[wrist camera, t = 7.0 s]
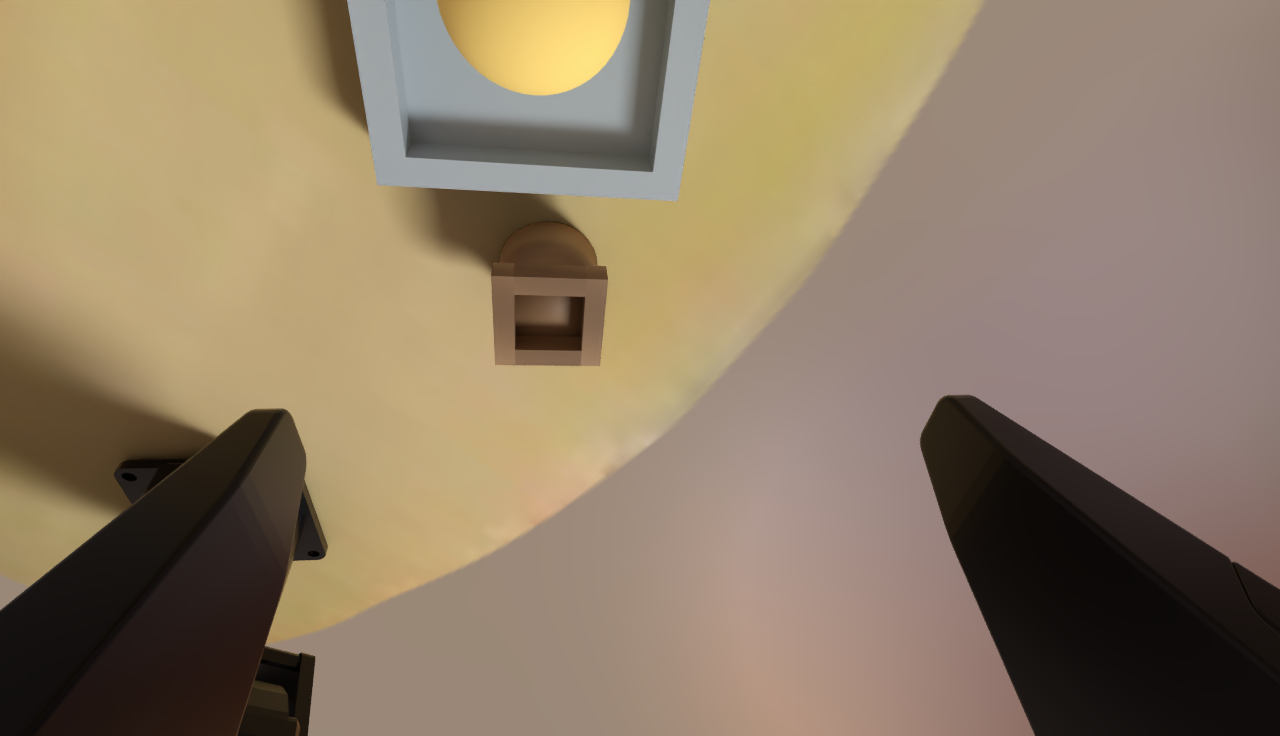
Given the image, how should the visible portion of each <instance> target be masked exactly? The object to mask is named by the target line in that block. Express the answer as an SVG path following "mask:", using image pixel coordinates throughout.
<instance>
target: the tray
mask: <svg viewBox="0 0 1280 736" xmlns="http://www.w3.org/2000/svg"><path fill="white" fill-rule="evenodd" d="M347 3H348V9H349V15H350V21H351V27H352V33H353V39H354V45H355V51H356V58H357V64H358V70H359V76H360V82H361V88H362V94H363V100H364V106H365V112H366V119H367V125H368V131H369V137H370V143H371V149H372V155H373V161H374V167H375V173H376V180H377V185H385V186H403V187H422V188H441V189H459V190H478V191H497V192H516V193H534V194H553V195H572V196H591V197H609V198H628V199H647V200H665V201H678V196H679V190H680V183H681V177H682V171H683V165H684V158H685V152H686V146H687V140H688V134H689V127H690V121H691V115H692V109H693V103H694V96H695V90H696V84H697V78H698V72H699V65H700V59H701V53H702V47H703V41H704V34H705V28H706V22H707V16H708V10H709V3H710V0H630V7H629V14H628V19H627V23H626V26H625V30H624V33H623V35H622V37H621V40H620V42H619V45H618V46H617V48H616V50H615V52H614V54H613V55H612V57H611V58H610V59H609V61H608V62H607V63H606V65H605V66H604V67H603V68H602V69H601V70H600V71H599V72H598V73H597V74H596V75H595V76H593V77H592V78H591V79H590V80H588V81H587V82H585V83H583V84H582V85H580V86H578V87H576V88H574V89H571V90H569V91H566V92H562V93H559V94H553V95H528V94H522V93H518V92H514V91H511V90H508V89H506V88H504V87H501V86H499V85H497V84H496V83H494V82H492V81H490V80H489V79H487V78H486V77H485V76H483V75H482V74H480V73H479V72H478V71H477V70H476V69H475V68H474V67H473V66H472V65H470V64H469V62H468V61H467V60H466V59H465V58H464V57H463V55H462V54H461V53H460V52H459V50H458V49H457V47H456V46H455V44H454V43H453V41H452V39H451V37H450V35H449V33H448V31H447V30H446V27H445V25H444V22H443V20H442V17H441V15H440V11H439V8H438V4H437V0H347Z"/></svg>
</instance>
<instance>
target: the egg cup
mask: <svg viewBox="0 0 1280 736" xmlns="http://www.w3.org/2000/svg"><path fill="white" fill-rule="evenodd" d="M491 282H492V304H493V325H494V347H495V365H554V366H600V359H601V349H602V338H603V327H604V316H605V306H606V295H607V284H608V277H607V269H606V266H598V264H597V257H596V254H595V251H594V248H593V246H592V245H591V243H590V242H589V240H588V239H587V238H586V237H585V236H584V235H583V234H581V233H580V232H579V231H577V230H576V229H574V228H572V227H570V226H567V225H565V224H561V223H556V222H538V223H533V224H530V225H527V226H525V227H523V228H521V229H519V230H517V231H516V232H515V233H513V234H512V235H511V236H510V237H509V238H508V240H507V241H506V242H505V244H504V246H503V248H502V251H501V254H500V259H499V262H493V265H492V273H491Z"/></svg>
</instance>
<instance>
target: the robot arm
mask: <svg viewBox="0 0 1280 736" xmlns="http://www.w3.org/2000/svg"><path fill="white" fill-rule="evenodd" d="M920 445H921V451H922V454H923V457H924V460H925V463H926V467H927V470H928V473H929V476H930V480H931V483H932V486H933V489H934V492H935V495H936V498H937V502H938V505H939V508H940V511H941V514H942V517H943V521H944V524H945V527H946V530H947V532H948V535H949V538H950V541H951V543H952V545H953V548H954V551H955V553H956V556H957V558H958V560H959V563H960V565H961V567H962V569H963V572H964V574H965V576H966V579H967V581H968V583H969V586H970V588H971V590H972V592H973V595H974V597H975V599H976V601H977V604H978V606H979V608H980V611H981V613H982V615H983V617H984V620H985V622H986V625H987V627H988V629H989V631H990V634H991V636H992V638H993V641H994V643H995V645H996V647H997V650H998V652H999V654H1000V656H1001V659H1002V661H1003V663H1004V666H1005V668H1006V670H1007V673H1008V675H1009V677H1010V679H1011V682H1012V684H1013V686H1014V689H1015V691H1016V693H1017V696H1018V698H1019V700H1020V702H1021V705H1022V707H1023V709H1024V712H1025V714H1026V716H1027V718H1028V721H1029V723H1030V725H1031V728H1032V730H1033V732H1034V735H1035V736H1280V589H1278V588H1277V587H1275V586H1274V585H1272V584H1270V583H1268V582H1267V581H1265V580H1264V579H1262V578H1261V577H1259V576H1258V575H1256V574H1255V573H1253V572H1251V571H1250V570H1248V569H1247V568H1245V567H1243V566H1242V565H1240V564H1239V563H1237V562H1231V560H1230V559H1229V557H1228V556H1226V555H1224V554H1223V553H1221V552H1220V551H1218V550H1216V549H1215V548H1213V547H1212V546H1210V545H1209V544H1207V543H1205V542H1204V541H1202V540H1201V539H1199V538H1197V537H1196V536H1194V535H1193V534H1191V533H1190V532H1188V531H1186V530H1185V529H1183V528H1182V527H1180V526H1178V525H1177V524H1175V523H1173V522H1172V521H1171V520H1169V519H1167V518H1166V517H1164V516H1163V515H1161V514H1160V513H1158V512H1156V511H1155V510H1153V509H1152V508H1150V507H1148V506H1147V505H1145V504H1144V503H1142V502H1141V501H1139V500H1137V499H1136V498H1134V497H1133V496H1131V495H1130V494H1128V493H1126V492H1125V491H1123V490H1122V489H1120V488H1118V487H1117V486H1115V485H1114V484H1112V483H1111V482H1109V481H1107V480H1106V479H1104V478H1103V477H1101V476H1099V475H1098V474H1096V473H1094V472H1093V471H1091V470H1090V469H1088V468H1087V467H1085V466H1084V465H1082V464H1081V463H1079V462H1077V461H1076V460H1074V459H1072V458H1071V457H1069V456H1068V455H1066V454H1065V453H1063V452H1062V451H1060V450H1058V449H1057V448H1055V447H1054V446H1052V445H1050V444H1049V443H1047V442H1046V441H1044V440H1042V439H1041V438H1039V437H1038V436H1036V435H1035V434H1033V433H1032V432H1030V431H1028V430H1027V429H1025V428H1024V427H1022V426H1020V425H1019V424H1017V423H1016V422H1014V421H1013V420H1011V419H1009V418H1008V417H1006V416H1005V415H1003V414H1001V413H1000V412H998V411H997V410H995V409H994V408H992V407H990V406H989V405H987V404H986V403H984V402H983V401H981V400H979V399H978V398H976V397H974V396H971V395H947V396H944V397H942V398H941V399H940V400H939V401H938V403H937V405H936V407H935V408H934V410H933V412H932V414H931V416H930V418H929V420H928V422H927V423H926V425H925V427H924V429H923V431H922V433H921V438H920ZM305 472H306V453H305V450H304V447H303V444H302V442H301V439H300V436H299V434H298V431H297V428H296V426H295V423H294V420H293V418H292V416H291V414H290V413H289V412H288V411H287V410H285V409H254V410H251V411H249V412H247V413H246V414H245V415H243V416H242V417H241V418H240V419H238V420H237V421H236V422H235V423H233V424H232V425H231V426H230V427H228V428H227V429H226V430H225V431H223V432H222V433H221V434H220V435H218V436H217V437H216V438H215V439H213V440H212V441H211V442H210V443H208V444H207V445H206V446H205V447H203V448H202V449H201V450H200V451H198V452H197V453H196V454H195V455H193V456H192V457H191V458H190V459H188V460H129V461H123V462H122V463H120V464H119V466H118V468H117V469H116V471H115V473H114V476H115V478H116V480H117V482H118V483H119V485H120V486H121V488H122V489H123V491H124V492H125V494H126V495H127V497H128V498H129V500H130V502H131V503H132V505H131V506H130V507H128V508H127V509H126V510H125V511H123V512H122V513H121V514H120V515H119V516H117V517H116V518H115V519H114V520H112V521H111V522H110V523H109V524H107V525H106V526H105V527H104V528H102V529H101V530H100V531H99V532H97V533H96V534H95V535H94V536H92V537H91V538H90V539H89V540H87V541H86V542H85V543H84V544H82V545H81V546H80V547H79V548H77V549H76V550H75V551H74V552H72V553H71V554H70V555H69V556H67V557H66V558H65V559H64V560H62V561H61V562H60V563H59V564H57V565H56V566H55V567H54V568H52V569H51V570H50V571H49V572H47V573H46V574H45V575H44V576H42V577H41V578H40V579H39V580H37V581H36V582H35V583H34V584H32V585H31V586H30V587H29V588H27V589H26V590H25V591H24V592H22V593H21V594H20V595H19V596H17V597H16V598H15V599H14V600H12V601H11V602H10V603H9V604H8V605H6V606H5V607H4V608H3V609H1V610H0V736H308V725H309V716H310V705H311V695H312V686H313V676H314V666H315V656H313V655H309V654H305V653H300V654H294V653H290V652H286V651H282V650H278V649H274V648H270V647H266V646H265V644H266V641H267V637H268V634H269V631H270V628H271V625H272V622H273V619H274V616H275V613H276V610H277V607H278V604H279V601H280V598H281V595H282V592H283V589H284V586H285V583H286V580H287V577H288V574H289V571H290V568H291V565H292V562H293V561H298V560H319V559H322V558H324V557H325V555H326V552H327V549H328V545H327V542H326V540H325V537H324V534H323V531H322V528H321V526H320V523H319V520H318V517H317V514H316V511H315V509H314V506H313V503H312V500H311V497H310V495H309V492H308V489H307V486H306V483H305V480H304V477H305Z"/></svg>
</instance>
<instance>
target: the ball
mask: <svg viewBox="0 0 1280 736" xmlns="http://www.w3.org/2000/svg"><path fill="white" fill-rule="evenodd" d="M437 4H438V8H439V11H440V15H441V17H442V20H443V22H444V25H445V27H446V30H447V31H448V33H449V35H450V37H451V39H452V41H453V43H454V44H455V46H456V47H457V49H458V50H459V52H460V53H461V54H462V55H463V57H464V58H465V59H466V60H467V61H468V62H469V64H470V65H472V66H473V67H474V68H475V69H476V70H477V71H478V72H479V73H480V74H482V75H483V76H485V77H486V78H487V79H489V80H490V81H492V82H494V83H496V84H497V85H499V86H501V87H504V88H506V89H508V90H511V91H514V92H518V93H522V94H528V95H553V94H559V93H562V92H566V91H569V90H571V89H574V88H576V87H578V86H580V85H582V84H583V83H585V82H587V81H588V80H590V79H591V78H592V77H593V76H595V75H596V74H597V73H598V72H599V71H600V70H601V69H602V68H603V67H604V66H605V65H606V63H607V62H608V61H609V59H610V58H611V57H612V55H613V54H614V52H615V50H616V48H617V46H618V45H619V42H620V40H621V37H622V35H623V33H624V30H625V26H626V23H627V19H628V14H629V7H630V0H437Z"/></svg>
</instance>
